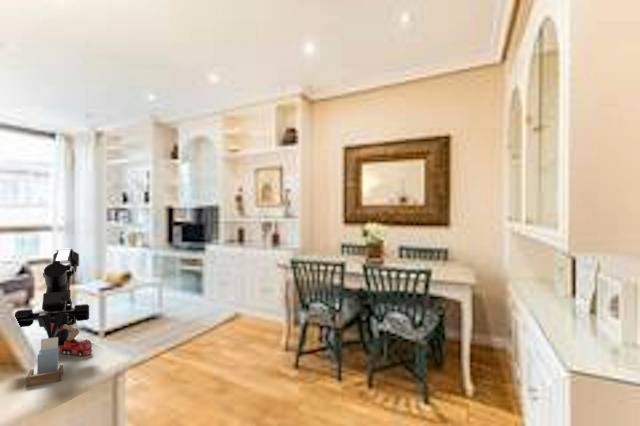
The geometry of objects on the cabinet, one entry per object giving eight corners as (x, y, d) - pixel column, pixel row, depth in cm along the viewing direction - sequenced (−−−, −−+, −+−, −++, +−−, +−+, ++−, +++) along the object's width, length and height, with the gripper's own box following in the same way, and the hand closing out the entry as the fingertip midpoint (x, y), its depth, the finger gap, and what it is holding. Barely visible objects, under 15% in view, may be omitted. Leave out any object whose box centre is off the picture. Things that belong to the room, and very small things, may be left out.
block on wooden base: (39, 371, 106) (40, 339, 106) (58, 368, 108) (59, 336, 108) (37, 376, 103) (38, 343, 103) (56, 373, 105) (57, 341, 105)
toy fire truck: (85, 357, 117) (85, 327, 117) (49, 353, 120) (50, 323, 120) (93, 353, 120) (94, 324, 120) (59, 349, 123) (59, 320, 123)
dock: (33, 370, 107) (34, 361, 107) (65, 365, 110) (65, 357, 110) (26, 386, 97) (26, 377, 97) (61, 380, 101) (61, 371, 101)
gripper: (16, 283, 109) (6, 331, 99) (89, 279, 118) (87, 322, 109) (21, 304, 116) (12, 350, 106) (90, 298, 125) (87, 340, 115)
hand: (50, 340), depth 109 cm, fingers closed
